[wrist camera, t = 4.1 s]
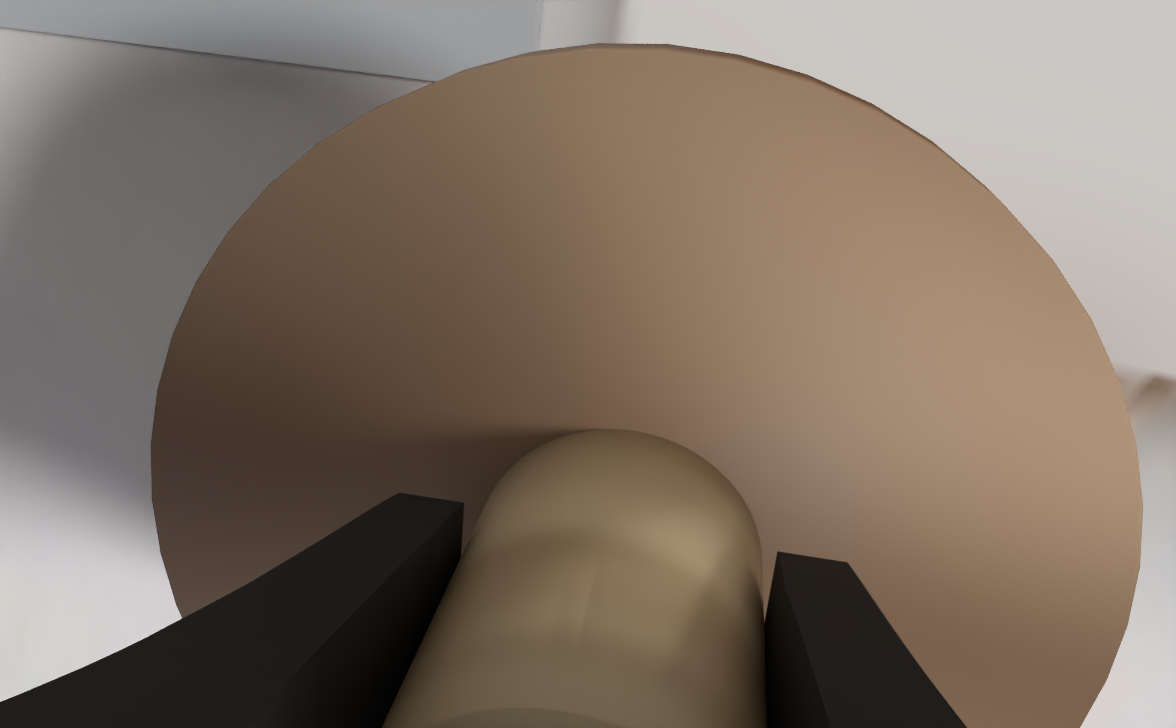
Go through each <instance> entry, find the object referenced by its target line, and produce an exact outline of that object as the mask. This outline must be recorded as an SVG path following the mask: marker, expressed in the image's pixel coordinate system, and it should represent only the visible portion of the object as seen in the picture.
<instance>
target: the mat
mask: <svg viewBox="0 0 1176 728" xmlns="http://www.w3.org/2000/svg"><path fill="white" fill-rule="evenodd" d="M541 7H542V0H0V27H5V28H13V29H21V30H29V31H37V32H45V33H53V34H61V35H69V36H77V37H85V38H93V39H101V40H109V41H117V42H125V43H133V44H141V45H149V46H157V47H165V48H173V49H181V50H189V51H197V52H205V53H213V54H221V55H229V56H237V57H245V58H253V59H261V60H269V61H277V62H285V63H293V64H301V65H309V66H317V67H325V68H333V69H341V70H349V71H357V72H365V73H373V74H381V75H389V76H397V77H405V78H413V79H421V80H429V81H439V80H441V79H444V78H446V77H448V76H451V75H453V74H455V73H458V72H460V71H462V70H465V69H469V68H472V67H476V66H480V65H483V64H487V63H491V62H494V61H498V60H502V59H505V58H509V57H513V56H517V55H520V54H524V53H528V52H534V51H538V43H539V31H540V19H541Z"/></svg>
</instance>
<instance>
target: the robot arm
mask: <svg viewBox="0 0 1176 728" xmlns="http://www.w3.org/2000/svg"><path fill="white" fill-rule="evenodd" d="M463 517H464V503H463V502H457V501H450V500H444V499H438V498H431V497H425V496H418V495H412V494H405V493H398V494H396V495H394V496H392V497H390V498H388V499H387V500H385V501H383V502H381V503H380V504H378V505H376V506H375V507H373V508H371V509H370V510H368V511H366V512H365V513H363V514H362V515H360V516H358V517H357V518H355V519H353V520H352V521H350V522H349V523H347V524H345V525H344V526H342V527H341V528H339V529H337V530H336V531H334V532H333V533H331V534H329V535H328V536H326V537H324V538H323V539H321V540H320V541H318V542H316V543H315V544H313V545H311V546H310V547H308V548H306V549H305V550H303V551H301V552H300V553H298V554H296V555H295V556H293V557H291V558H290V559H288V560H286V561H285V562H283V563H281V564H280V565H278V566H276V567H275V568H273V569H271V570H270V571H268V572H266V573H265V574H263V575H261V576H260V577H258V578H256V579H255V580H253V581H251V582H249V583H248V584H246V585H244V586H242V587H241V588H239V589H237V590H235V591H233V592H231V593H229V594H227V595H226V596H224V597H222V598H220V599H218V600H216V601H214V602H212V603H211V604H209V605H207V606H205V607H203V608H201V609H199V610H197V611H195V612H194V613H192V614H190V615H188V616H186V617H184V618H182V619H180V620H179V621H177V622H175V623H173V624H171V625H169V626H167V627H165V628H164V629H162V630H160V631H158V632H156V633H154V634H152V635H150V636H149V637H147V638H145V639H143V640H141V641H138V642H136V643H134V644H132V645H130V646H128V647H126V648H124V649H122V650H120V651H118V652H116V653H113V654H111V655H109V656H107V657H105V658H103V659H100V660H98V661H96V662H94V663H92V664H90V665H87V666H85V667H83V668H81V669H78V670H76V671H74V672H71V673H69V674H66V675H64V676H62V677H59V678H57V679H55V680H52V681H50V682H48V683H45V684H43V685H41V686H38V687H36V688H33V689H31V690H29V691H26V692H24V693H22V694H19V695H17V696H14V697H12V698H9V699H7V700H4V701H2V702H0V728H382V726H383V724H384V721H385V719H386V717H387V715H388V713H389V711H390V709H391V706H392V704H393V702H394V700H395V698H396V696H397V693H398V691H399V689H400V687H401V685H402V683H403V681H404V678H405V676H406V674H407V672H408V670H409V668H410V666H411V663H412V661H413V659H414V657H415V655H416V653H417V650H418V648H419V646H420V644H421V642H422V640H423V638H424V635H425V633H426V631H427V629H428V627H429V625H430V623H431V620H432V618H433V616H434V614H435V612H436V610H437V607H438V605H439V603H440V601H441V599H442V597H443V595H444V592H445V590H446V588H447V586H448V584H449V582H450V580H451V577H452V575H453V573H454V571H455V569H456V567H457V564H458V562H459V560H460V558H461V551H462V534H463ZM764 629H765V662H766V696H767V728H967V726H966V725H965V724H964V723H963V722H962V720H961V719H960V718H959V716H958V715H957V714H956V712H955V711H954V710H953V709H952V707H951V706H950V705H949V703H948V702H947V701H946V699H945V698H944V697H943V696H942V694H941V693H940V692H939V690H938V689H937V688H936V686H935V685H934V684H933V683H932V681H931V680H930V679H929V677H928V676H927V675H926V673H925V672H924V670H923V669H922V668H921V666H920V665H919V664H918V662H917V661H916V659H915V658H914V657H913V655H912V654H911V652H910V651H909V650H908V648H907V647H906V645H905V644H904V643H903V641H902V640H901V638H900V637H899V635H898V634H897V633H896V631H895V630H894V628H893V627H892V625H891V624H890V622H889V621H888V620H887V618H886V617H885V615H884V614H883V612H882V611H881V609H880V608H879V606H878V605H877V603H876V602H875V601H874V599H873V598H872V596H871V595H870V593H869V592H868V590H867V589H866V587H865V586H864V584H863V583H862V582H861V580H860V579H859V577H858V576H857V575H856V573H855V572H854V571H853V569H852V568H851V566H850V565H849V564H848V562H843V561H837V560H830V559H824V558H817V557H811V556H804V555H798V554H792V553H785V552H779V551H777V556H776V562H775V567H774V573H773V578H772V583H771V589H770V594H769V600H768V605H767V611H766V616H765V622H764Z"/></svg>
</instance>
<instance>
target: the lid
mask: <svg viewBox="0 0 1176 728" xmlns="http://www.w3.org/2000/svg"><path fill="white" fill-rule="evenodd" d="M151 474H152V502H153V508H154V515H155V521H156V527H157V533H158V539H159V545H160V552H161V556H162V559H163V562H164V566H165V569H166V572H167V576H168V579H169V582H170V585H171V589H172V592H173V595H174V599H175V602H176V605H177V607H178V610H179V612H180V614H181V616H182V618H184V617H186V616H188V615H190V614H192V613H194V612H195V611H197V610H199V609H201V608H203V607H205V606H207V605H209V604H211V603H212V602H214V601H216V600H218V599H220V598H222V597H224V596H226V595H227V594H229V593H231V592H233V591H235V590H237V589H239V588H241V587H242V586H244V585H246V584H248V583H249V582H251V581H253V580H255V579H256V578H258V577H260V576H261V575H263V574H265V573H266V572H268V571H270V570H271V569H273V568H275V567H276V566H278V565H280V564H281V563H283V562H285V561H286V560H288V559H290V558H291V557H293V556H295V555H296V554H298V553H300V552H301V551H303V550H305V549H306V548H308V547H310V546H311V545H313V544H315V543H316V542H318V541H320V540H321V539H323V538H324V537H326V536H328V535H329V534H331V533H333V532H334V531H336V530H337V529H339V528H341V527H342V526H344V525H345V524H347V523H349V522H350V521H352V520H353V519H355V518H357V517H358V516H360V515H362V514H363V513H365V512H366V511H368V510H370V509H371V508H373V507H375V506H376V505H378V504H380V503H381V502H383V501H385V500H387V499H388V498H390V497H392V496H394V495H396V494H398V493H405V494H412V495H418V496H425V497H431V498H438V499H444V500H450V501H457V502H463V503H464V517H463V534H462V551H461V558H460V560H459V562H458V564H457V567H456V569H455V571H454V573H453V575H452V577H451V580H450V582H449V584H448V586H447V588H446V590H445V592H444V595H443V597H442V599H441V601H440V603H439V605H438V607H437V610H436V612H435V614H434V616H433V618H432V620H431V623H430V625H429V627H428V629H427V631H426V633H425V635H424V638H423V640H422V642H421V644H420V646H419V648H418V650H417V653H416V655H415V657H414V659H413V661H412V663H411V666H410V668H409V670H408V672H407V674H406V676H405V678H404V681H403V683H402V685H401V687H400V689H399V691H398V693H397V696H396V698H395V700H394V702H393V704H392V706H391V709H390V711H389V713H388V715H387V717H386V719H385V721H384V724H383V726H382V728H767V696H766V662H765V629H764V622H765V616H766V611H767V605H768V600H769V594H770V589H771V583H772V578H773V573H774V567H775V562H776V556H777V551H779V552H785V553H792V554H798V555H804V556H811V557H817V558H824V559H830V560H837V561H843V562H848V564H849V565H850V566H851V568H852V569H853V571H854V572H855V573H856V575H857V576H858V577H859V579H860V580H861V582H862V583H863V584H864V586H865V587H866V589H867V590H868V592H869V593H870V595H871V596H872V598H873V599H874V601H875V602H876V603H877V605H878V606H879V608H880V609H881V611H882V612H883V614H884V615H885V617H886V618H887V620H888V621H889V622H890V624H891V625H892V627H893V628H894V630H895V631H896V633H897V634H898V635H899V637H900V638H901V640H902V641H903V643H904V644H905V645H906V647H907V648H908V650H909V651H910V652H911V654H912V655H913V657H914V658H915V659H916V661H917V662H918V664H919V665H920V666H921V668H922V669H923V670H924V672H925V673H926V675H927V676H928V677H929V679H930V680H931V681H932V683H933V684H934V685H935V686H936V688H937V689H938V690H939V692H940V693H941V694H942V696H943V697H944V698H945V699H946V701H947V702H948V703H949V705H950V706H951V707H952V709H953V710H954V711H955V712H956V714H957V715H958V716H959V718H960V719H961V720H962V722H963V723H964V724H965V725H966V726H967V728H1080V726H1081V725H1082V723H1083V721H1084V719H1085V718H1086V716H1087V714H1088V712H1089V710H1090V709H1091V707H1092V705H1093V703H1094V702H1095V700H1096V698H1097V696H1098V694H1099V693H1100V691H1101V689H1102V687H1103V686H1104V684H1105V682H1106V680H1107V678H1108V675H1109V673H1110V670H1111V667H1112V665H1113V662H1114V659H1115V657H1116V654H1117V652H1118V649H1119V646H1120V644H1121V641H1122V638H1123V636H1124V633H1125V631H1126V628H1127V625H1128V621H1129V616H1130V611H1131V606H1132V602H1133V597H1134V592H1135V588H1136V583H1137V578H1138V573H1139V569H1140V555H1141V535H1142V516H1143V501H1142V492H1141V483H1140V474H1139V465H1138V455H1137V446H1136V441H1135V437H1134V433H1133V430H1132V426H1131V422H1130V419H1129V415H1128V411H1127V408H1126V404H1125V400H1124V397H1123V393H1122V390H1121V386H1120V382H1119V379H1118V377H1117V375H1116V373H1115V370H1114V368H1113V366H1112V364H1111V361H1110V359H1109V357H1108V355H1107V353H1106V350H1105V348H1104V346H1103V344H1102V341H1101V339H1100V337H1099V335H1098V333H1097V330H1096V328H1095V326H1094V324H1093V322H1092V319H1091V318H1090V316H1089V315H1088V313H1087V311H1086V310H1085V308H1084V307H1083V305H1082V304H1081V302H1080V301H1079V299H1078V298H1077V296H1076V294H1075V293H1074V291H1073V290H1072V288H1071V287H1070V285H1069V284H1068V282H1067V281H1066V279H1065V278H1064V276H1063V275H1062V273H1061V271H1060V270H1059V268H1058V267H1057V265H1056V264H1055V262H1054V261H1053V259H1052V258H1051V257H1050V256H1049V255H1048V254H1047V253H1046V251H1045V250H1044V249H1043V248H1042V247H1041V246H1040V245H1039V243H1038V242H1037V241H1036V240H1035V239H1034V238H1033V237H1032V236H1031V234H1030V233H1029V232H1028V231H1027V230H1026V229H1025V228H1024V227H1023V225H1022V224H1021V223H1020V222H1019V221H1018V220H1017V219H1016V218H1015V216H1014V215H1013V214H1012V213H1011V212H1010V211H1009V210H1008V209H1007V207H1006V206H1005V205H1004V204H1003V203H1002V202H1001V201H1000V200H999V199H998V198H997V197H996V196H995V195H994V194H993V193H992V192H991V191H990V190H989V189H988V188H987V187H986V186H984V185H983V184H982V183H981V182H980V181H979V180H977V179H976V178H975V177H974V176H973V175H971V174H970V173H969V172H968V171H967V170H966V169H964V168H963V167H962V166H961V165H960V164H958V163H957V162H956V161H955V160H954V159H953V158H951V157H950V156H949V155H948V154H946V153H945V152H944V151H943V150H942V149H941V148H939V147H938V146H937V145H936V144H935V143H933V142H932V141H931V140H929V139H928V138H926V137H924V136H923V135H921V134H919V133H918V132H916V131H915V130H913V129H912V128H910V127H909V126H907V125H905V124H904V123H902V122H901V121H899V120H897V119H896V118H894V117H893V116H891V115H889V114H888V113H886V112H885V111H883V110H881V109H880V108H878V107H877V106H875V105H873V104H872V103H869V102H867V101H865V100H862V99H860V98H858V97H856V96H854V95H851V94H849V93H847V92H845V91H843V90H840V89H838V88H836V87H834V86H831V85H829V84H827V83H825V82H822V81H820V80H818V79H815V78H813V77H811V76H809V75H806V74H803V73H800V72H796V71H792V70H789V69H786V68H782V67H779V66H775V65H772V64H769V63H765V62H762V61H758V60H755V59H752V58H748V57H745V56H741V55H737V54H730V53H724V52H716V51H710V50H704V49H697V48H690V47H683V46H677V45H669V44H604V43H597V44H589V45H581V46H573V47H565V48H558V49H550V50H542V51H534V52H528V53H524V54H520V55H517V56H513V57H509V58H505V59H502V60H498V61H494V62H491V63H487V64H483V65H480V66H476V67H472V68H469V69H465V70H462V71H460V72H458V73H455V74H453V75H451V76H448V77H446V78H444V79H441V80H439V81H437V82H434V83H432V84H430V85H427V86H425V87H423V88H420V89H418V90H416V91H413V92H411V93H409V94H406V95H404V96H402V97H399V98H397V99H395V100H393V101H390V102H388V103H386V104H383V105H381V106H379V107H377V108H375V109H373V110H372V111H370V112H369V113H367V114H365V115H364V116H362V117H360V118H359V119H357V120H355V121H354V122H352V123H351V124H349V125H347V126H346V127H344V128H342V129H341V130H339V131H338V132H336V133H334V134H333V135H331V136H329V137H328V138H326V139H325V140H323V141H321V142H320V143H318V144H317V145H316V146H315V147H314V148H313V149H311V150H310V151H309V152H308V153H307V154H305V155H304V156H303V157H302V158H301V159H299V160H298V161H297V162H296V163H295V164H293V165H292V166H291V167H290V168H289V169H288V170H286V171H285V172H284V173H283V174H282V175H280V176H279V177H278V178H277V179H276V180H274V181H273V182H272V183H271V184H270V185H269V186H268V187H267V188H266V189H265V190H264V192H263V193H262V194H261V195H260V196H259V197H258V198H257V200H256V201H255V202H254V203H253V204H252V205H251V206H250V207H249V209H248V210H247V211H246V212H245V213H244V214H243V215H242V217H241V218H240V219H239V220H238V221H237V222H236V223H235V225H234V226H233V227H232V228H231V229H230V230H229V231H228V233H227V235H226V236H225V238H224V239H223V241H222V242H221V244H220V245H219V247H218V249H217V250H216V252H215V253H214V255H213V256H212V258H211V259H210V261H209V263H208V264H207V266H206V267H205V269H204V270H203V272H202V274H201V275H200V277H199V278H198V280H197V281H196V283H195V286H194V288H193V290H192V292H191V295H190V297H189V299H188V301H187V304H186V306H185V308H184V310H183V313H182V315H181V317H180V319H179V322H178V324H177V326H176V328H175V331H174V333H173V335H172V339H171V342H170V346H169V350H168V353H167V357H166V361H165V364H164V368H163V372H162V375H161V379H160V383H159V386H158V390H157V398H156V407H155V415H154V423H153V431H152V440H151Z"/></svg>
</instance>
